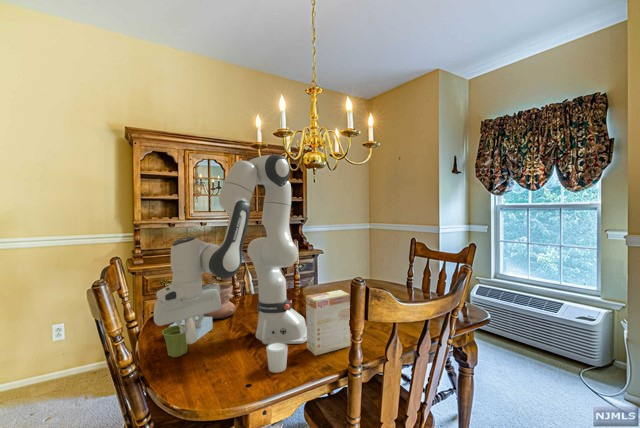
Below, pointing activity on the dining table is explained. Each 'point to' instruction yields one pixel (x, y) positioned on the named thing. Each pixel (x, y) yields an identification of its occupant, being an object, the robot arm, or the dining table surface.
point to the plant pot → (175, 341)
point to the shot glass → (277, 356)
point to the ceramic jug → (224, 303)
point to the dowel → (190, 330)
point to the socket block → (205, 326)
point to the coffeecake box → (328, 321)
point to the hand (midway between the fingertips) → (190, 330)
